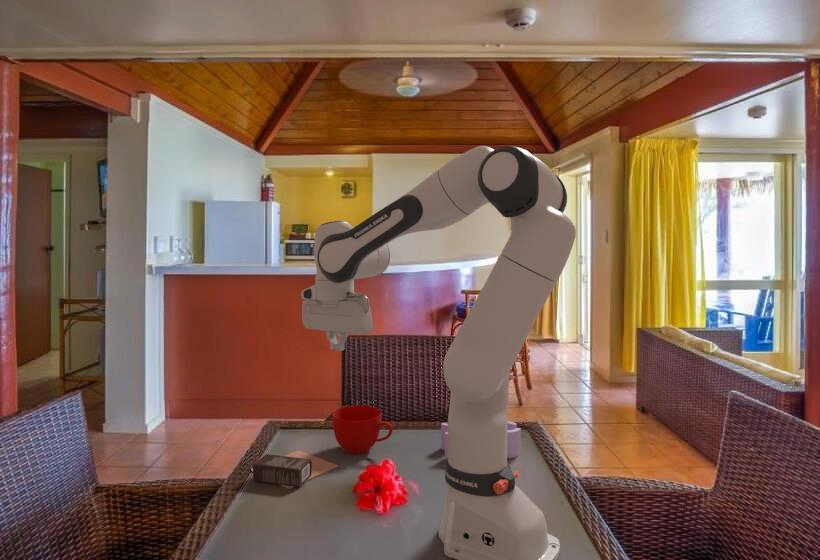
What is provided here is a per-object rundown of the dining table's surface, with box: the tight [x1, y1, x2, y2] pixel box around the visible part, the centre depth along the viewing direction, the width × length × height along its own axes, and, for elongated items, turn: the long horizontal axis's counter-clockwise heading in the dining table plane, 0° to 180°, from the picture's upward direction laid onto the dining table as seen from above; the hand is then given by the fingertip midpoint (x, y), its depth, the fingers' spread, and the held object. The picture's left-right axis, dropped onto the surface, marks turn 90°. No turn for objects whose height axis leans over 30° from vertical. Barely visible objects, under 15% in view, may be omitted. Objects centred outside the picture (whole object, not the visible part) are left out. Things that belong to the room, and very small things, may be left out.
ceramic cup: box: [331, 404, 394, 455], centre depth 139 cm, size 13×17×10 cm
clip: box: [440, 421, 522, 460], centre depth 139 cm, size 20×12×7 cm, turn 95°
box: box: [252, 453, 312, 488], centre depth 123 cm, size 6×4×12 cm
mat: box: [250, 450, 339, 490], centre depth 129 cm, size 15×15×1 cm
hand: (337, 350), depth 124 cm, fingers closed
